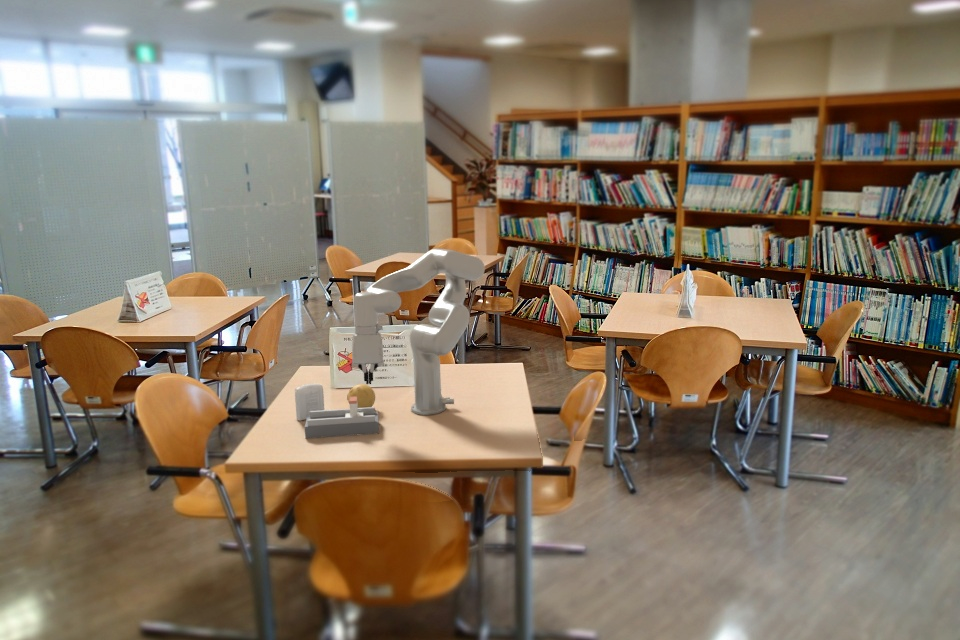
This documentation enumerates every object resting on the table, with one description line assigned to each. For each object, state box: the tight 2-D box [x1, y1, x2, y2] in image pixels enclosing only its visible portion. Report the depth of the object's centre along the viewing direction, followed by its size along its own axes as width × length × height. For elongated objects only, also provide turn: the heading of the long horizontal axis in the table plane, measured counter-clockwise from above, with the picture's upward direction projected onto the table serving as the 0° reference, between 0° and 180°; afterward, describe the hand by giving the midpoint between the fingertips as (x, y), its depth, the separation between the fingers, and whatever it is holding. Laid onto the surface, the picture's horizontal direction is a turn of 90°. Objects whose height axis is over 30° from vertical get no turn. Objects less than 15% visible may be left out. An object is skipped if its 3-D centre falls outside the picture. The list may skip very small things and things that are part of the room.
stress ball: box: [346, 383, 376, 408], centre depth 262 cm, size 10×10×10 cm
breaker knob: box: [345, 396, 363, 417], centre depth 244 cm, size 6×6×7 cm
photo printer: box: [294, 382, 325, 421], centre depth 257 cm, size 10×4×12 cm, turn 123°
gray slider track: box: [304, 406, 380, 439], centre depth 245 cm, size 24×10×6 cm, turn 98°
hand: (368, 383), depth 243 cm, fingers closed
